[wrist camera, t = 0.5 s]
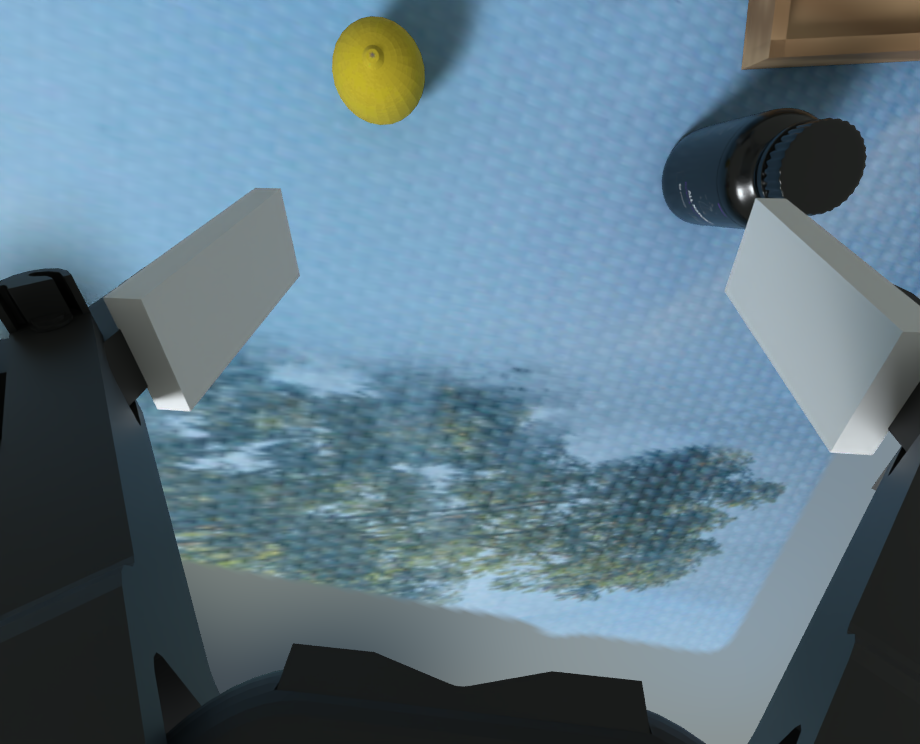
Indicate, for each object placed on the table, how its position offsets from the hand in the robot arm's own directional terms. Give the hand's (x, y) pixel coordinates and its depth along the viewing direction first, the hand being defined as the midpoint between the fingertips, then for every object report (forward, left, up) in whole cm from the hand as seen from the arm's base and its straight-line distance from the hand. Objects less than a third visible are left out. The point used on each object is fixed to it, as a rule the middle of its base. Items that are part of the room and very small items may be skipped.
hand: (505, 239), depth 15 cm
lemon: (-9, -5, -24) cm, 26 cm away
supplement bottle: (-2, +18, -25) cm, 31 cm away
